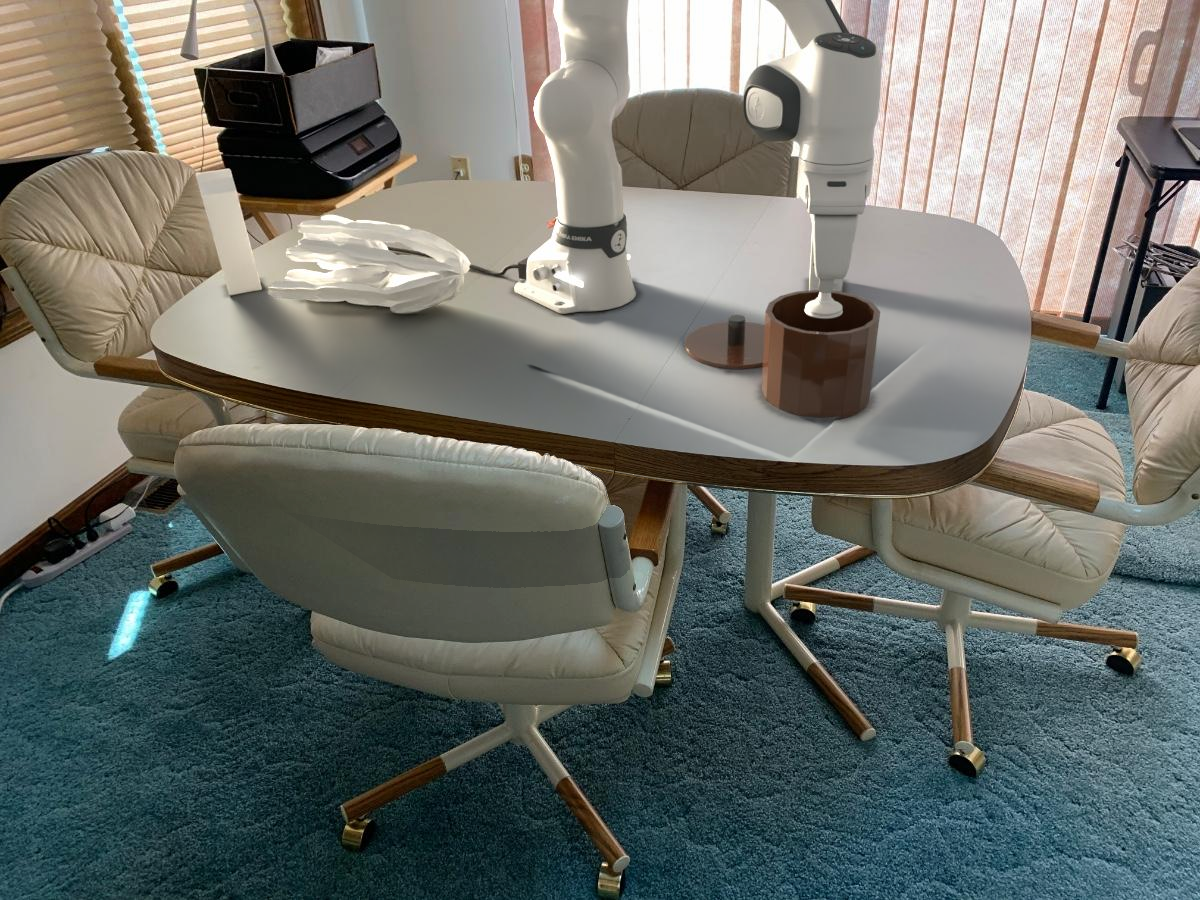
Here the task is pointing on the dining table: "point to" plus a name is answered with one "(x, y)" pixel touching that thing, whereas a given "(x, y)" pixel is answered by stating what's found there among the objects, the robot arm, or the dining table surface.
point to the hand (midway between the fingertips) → (825, 286)
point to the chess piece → (823, 307)
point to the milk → (229, 231)
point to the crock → (819, 356)
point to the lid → (728, 344)
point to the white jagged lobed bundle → (372, 266)
